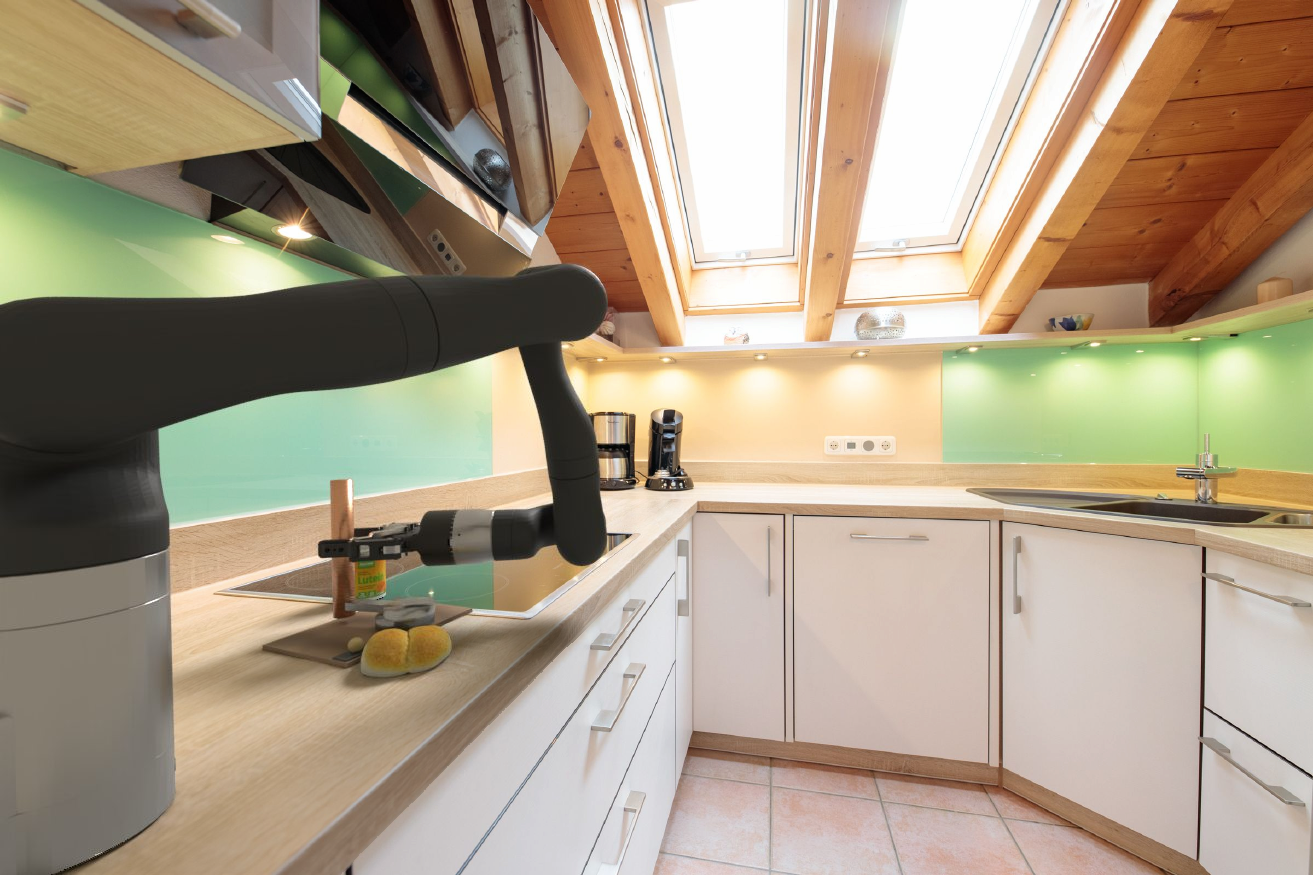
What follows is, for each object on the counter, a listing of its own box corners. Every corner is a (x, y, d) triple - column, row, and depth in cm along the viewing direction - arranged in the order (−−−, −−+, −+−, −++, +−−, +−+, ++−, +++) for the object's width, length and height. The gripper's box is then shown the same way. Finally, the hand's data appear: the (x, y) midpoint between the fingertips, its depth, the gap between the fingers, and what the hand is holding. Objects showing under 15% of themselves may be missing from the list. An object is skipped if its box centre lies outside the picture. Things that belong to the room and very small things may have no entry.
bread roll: (453, 669, 56) (452, 631, 56) (357, 687, 52) (356, 647, 52) (449, 641, 63) (449, 608, 63) (365, 655, 60) (365, 621, 59)
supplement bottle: (356, 606, 77) (354, 540, 77) (340, 599, 80) (339, 537, 80) (392, 596, 81) (391, 534, 81) (376, 591, 85) (375, 531, 85)
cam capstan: (445, 615, 69) (442, 477, 69) (413, 633, 63) (409, 481, 63) (355, 609, 72) (352, 477, 72) (315, 626, 66) (312, 482, 66)
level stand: (347, 667, 56) (346, 646, 56) (262, 649, 61) (261, 630, 61) (472, 611, 73) (472, 595, 73) (397, 601, 79) (397, 586, 79)
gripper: (472, 503, 79) (358, 507, 76) (447, 517, 64) (306, 523, 62) (473, 552, 79) (359, 558, 76) (448, 577, 64) (307, 585, 62)
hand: (335, 542), depth 69 cm, fingers open, 8 cm apart
